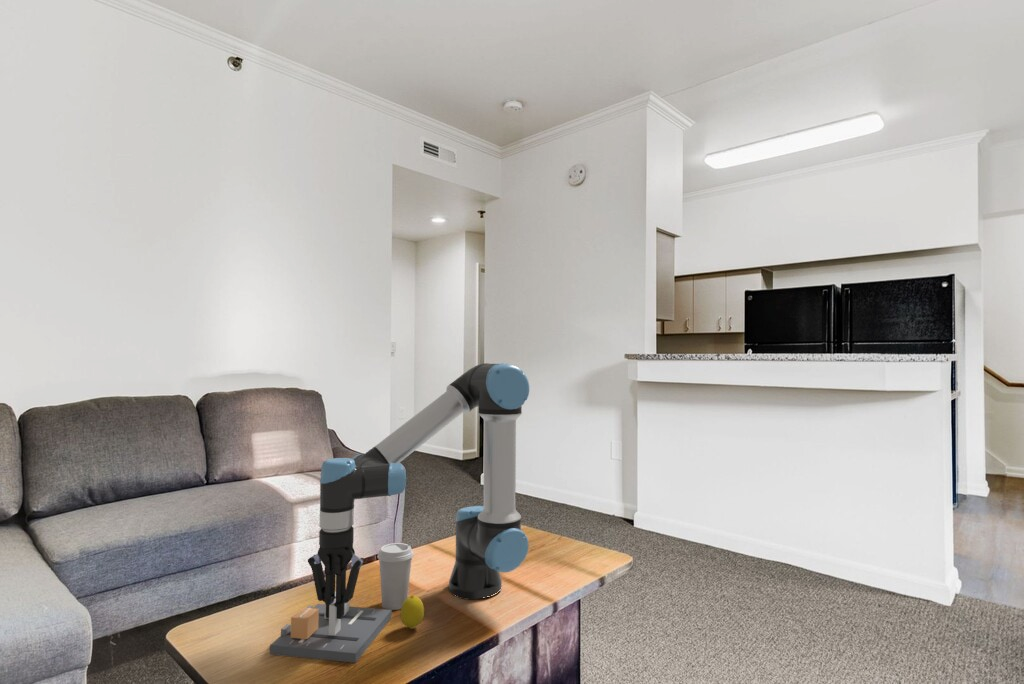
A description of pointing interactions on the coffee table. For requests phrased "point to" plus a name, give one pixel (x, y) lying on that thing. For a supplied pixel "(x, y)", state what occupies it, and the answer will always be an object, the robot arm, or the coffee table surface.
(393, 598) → the coffee cup
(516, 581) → the coffee table surface
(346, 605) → the fader grey
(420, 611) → the lemon
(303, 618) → the fader orange
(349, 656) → the console
